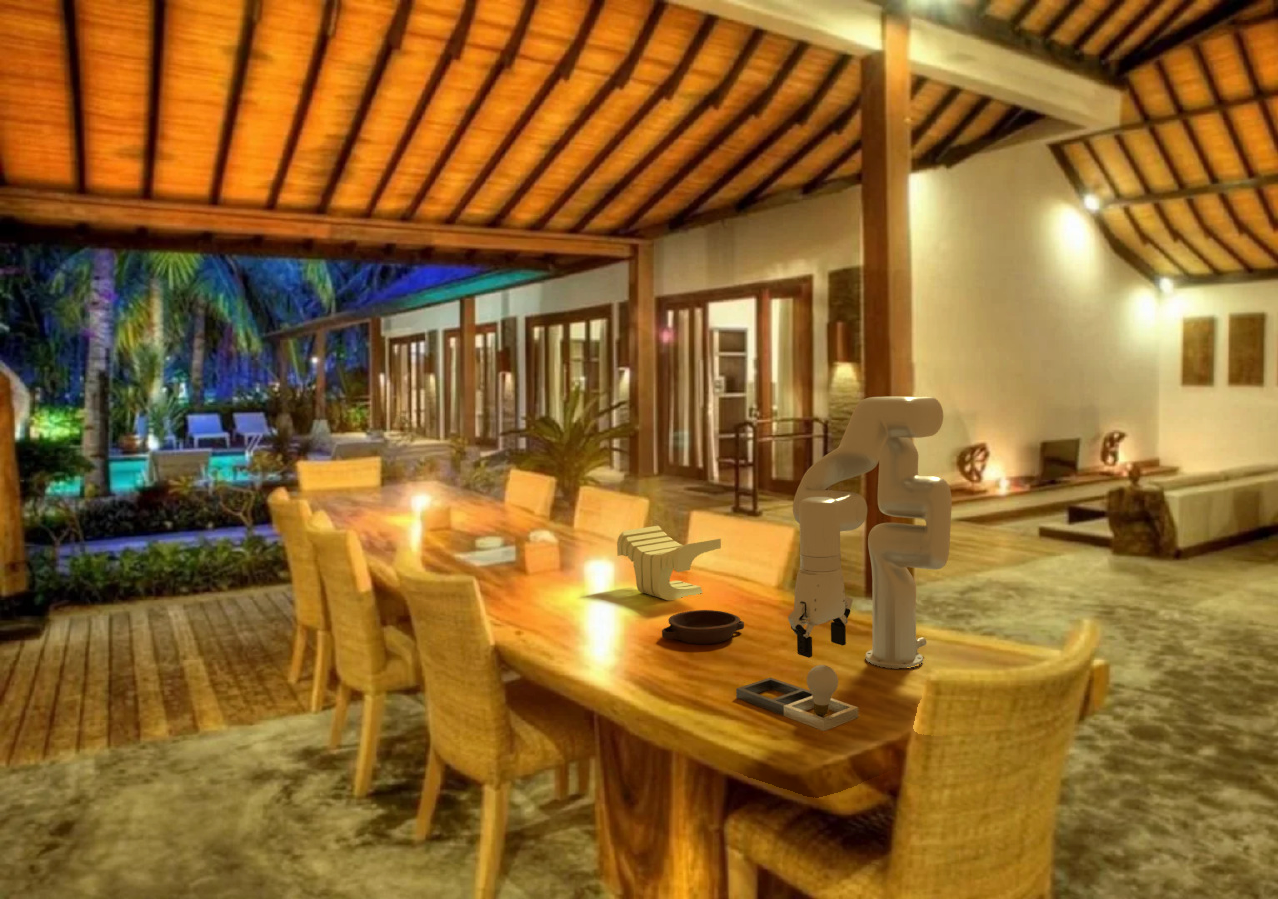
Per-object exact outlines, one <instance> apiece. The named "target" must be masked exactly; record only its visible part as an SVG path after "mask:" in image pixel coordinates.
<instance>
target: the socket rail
mask: <svg viewBox="0 0 1278 899" xmlns="http://www.w3.org/2000/svg"><path fill="white" fill-rule="evenodd" d="M735 689H736V690H735V691H736V693H735V694H736V699H738V700H741V701H744V702H746V703H748V704H751V705H753V706H757V707H759V708H762V709H765V710H766V711H770V712H773V713H775V714H777V715H780V716H783V717H785V718H789V719H791V720H793V721H796V722H799V723H801V724H804V725H807V726H810V727H812V728H815V729H817V730H819V731H823V732H826V731H829V730H831V729H833V728H836V727H837V726H840V725H843V724H846V723H848V722H851V721H853V720H856V719H858V718H859V706H855V705H853V704H850V703H847V702H844V701H841V700H838V699H836V698H832V697H831V699H830V702H829V706H828V710H829V709H830V710H829V711H831V710H832V712H834V713H832V714H830V715H827V716H823V717H820V716H818V715H817V714H815V713H812V712H808V710H811V709H814V701H813V697H812V693H811V691H810V689H805V688H803V687H799V686H796V685H793V684H791V683H788V682H785V681H781V680H779V679H776V678H773V677H768V678H765V679H761V680H758V681H756V682H752V683H749V684H746V685H743V686H740V687H737V688H735ZM768 689H769V690H772V689H773V690H772V691H775V692H779V693H781V694H783V695H779V696H778V697H777V696H776V697H773V698H770V697H767V696H765V695H761V694H760V693H763V692H766V691H769V690H768Z"/></svg>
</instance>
